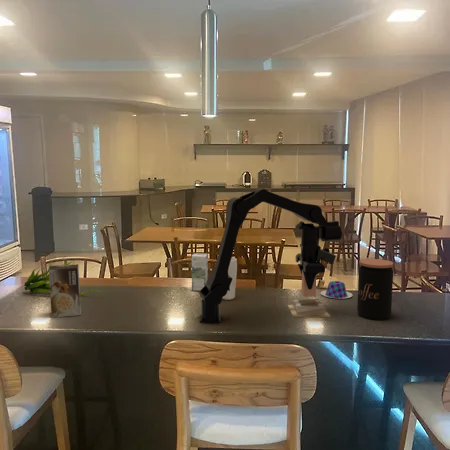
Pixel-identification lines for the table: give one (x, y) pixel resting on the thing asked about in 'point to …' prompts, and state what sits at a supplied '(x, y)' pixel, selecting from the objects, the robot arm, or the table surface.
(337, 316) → the table surface
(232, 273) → the white tumbler
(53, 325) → the table surface
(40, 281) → the decorative plant
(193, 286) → the syrup box
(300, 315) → the post socket
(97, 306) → the table surface
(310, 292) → the bracket block
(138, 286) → the table surface
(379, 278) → the coffee jar
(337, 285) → the pudding
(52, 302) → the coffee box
